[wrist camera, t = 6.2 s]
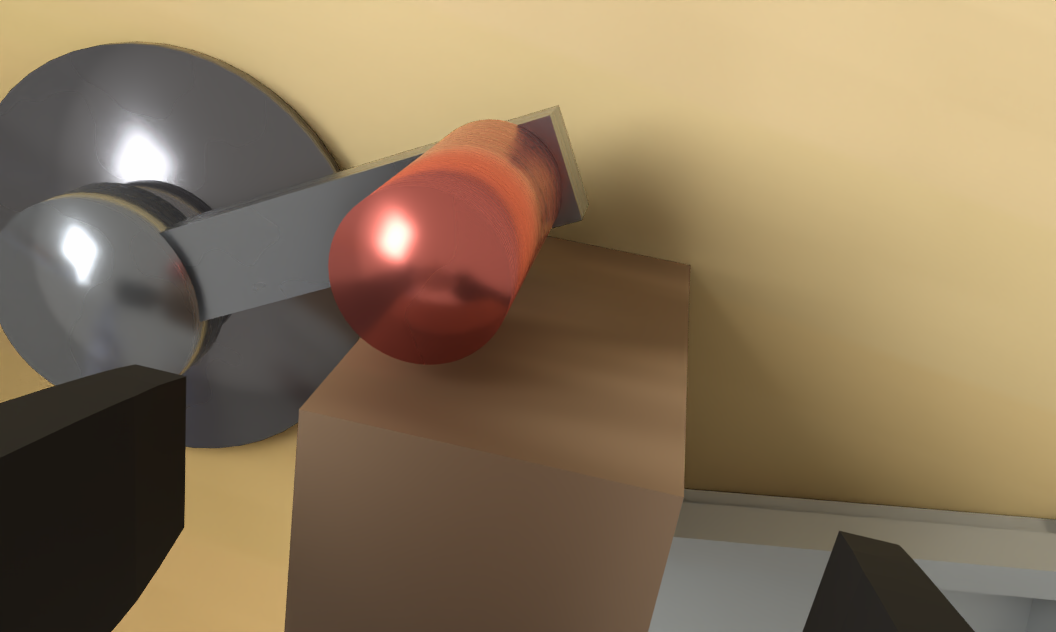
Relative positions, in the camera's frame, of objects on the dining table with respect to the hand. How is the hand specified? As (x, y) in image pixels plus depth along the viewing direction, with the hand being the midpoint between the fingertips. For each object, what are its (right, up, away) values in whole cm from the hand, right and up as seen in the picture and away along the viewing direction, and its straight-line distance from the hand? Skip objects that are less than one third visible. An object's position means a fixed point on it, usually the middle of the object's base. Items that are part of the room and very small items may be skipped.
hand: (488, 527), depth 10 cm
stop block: (+1, +2, +5) cm, 5 cm away
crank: (-3, +3, +4) cm, 6 cm away
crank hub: (-6, +3, +6) cm, 9 cm away
